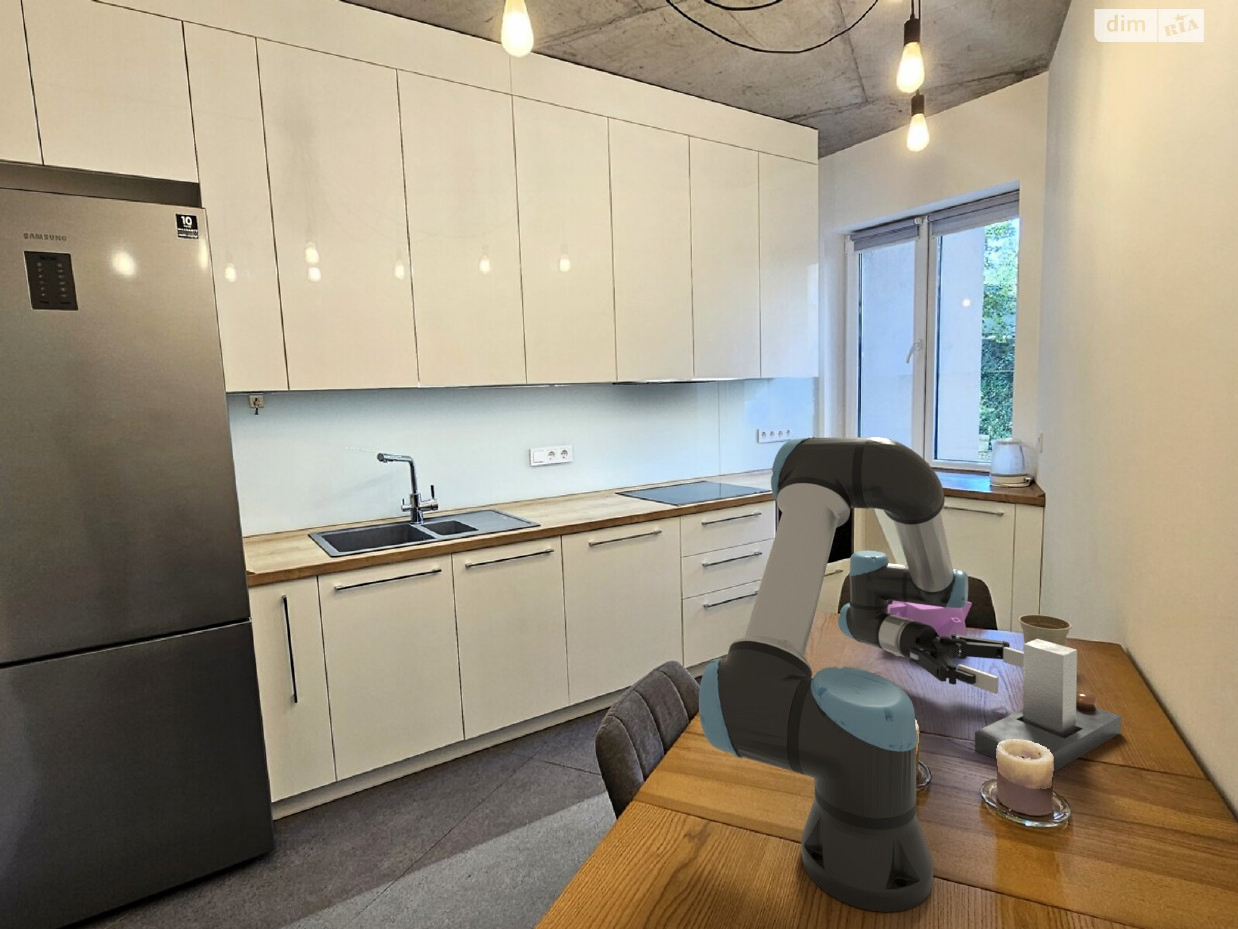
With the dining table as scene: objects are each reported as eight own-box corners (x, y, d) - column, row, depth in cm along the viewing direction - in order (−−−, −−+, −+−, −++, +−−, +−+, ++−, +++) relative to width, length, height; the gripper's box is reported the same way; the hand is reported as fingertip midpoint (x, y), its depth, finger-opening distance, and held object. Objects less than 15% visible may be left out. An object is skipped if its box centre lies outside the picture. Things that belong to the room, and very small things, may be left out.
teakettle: (898, 626, 161) (897, 578, 160) (974, 639, 150) (975, 587, 149) (878, 649, 147) (877, 596, 146) (960, 664, 137) (960, 608, 136)
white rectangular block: (1062, 753, 102) (1063, 655, 100) (1022, 737, 107) (1023, 644, 106) (1075, 746, 104) (1077, 649, 102) (1036, 730, 109) (1037, 638, 107)
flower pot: (1074, 659, 137) (1075, 619, 136) (1066, 674, 130) (1067, 632, 129) (1023, 649, 143) (1023, 611, 142) (1013, 663, 136) (1013, 623, 135)
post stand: (1040, 779, 95) (1040, 747, 95) (974, 749, 104) (974, 720, 103) (1122, 732, 107) (1123, 703, 107) (1057, 709, 116) (1057, 682, 115)
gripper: (948, 643, 134) (1059, 678, 115) (867, 672, 122) (976, 716, 103) (948, 608, 133) (1059, 638, 115) (866, 634, 121) (976, 671, 103)
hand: (1020, 675), depth 109 cm, fingers open, 13 cm apart
